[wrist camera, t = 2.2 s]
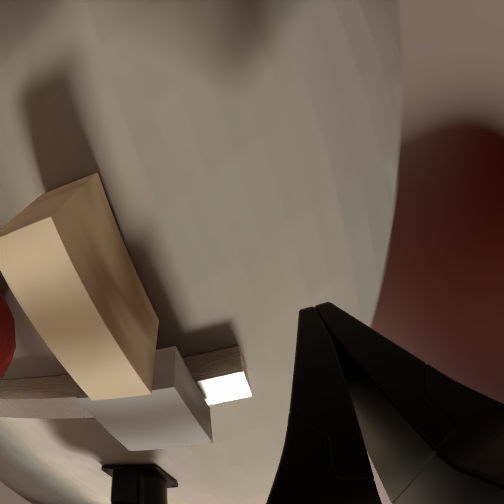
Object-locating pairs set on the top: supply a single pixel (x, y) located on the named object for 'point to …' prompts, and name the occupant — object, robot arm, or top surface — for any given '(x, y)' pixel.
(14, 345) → the red round solid
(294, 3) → the top surface
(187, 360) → the rail
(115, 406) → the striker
